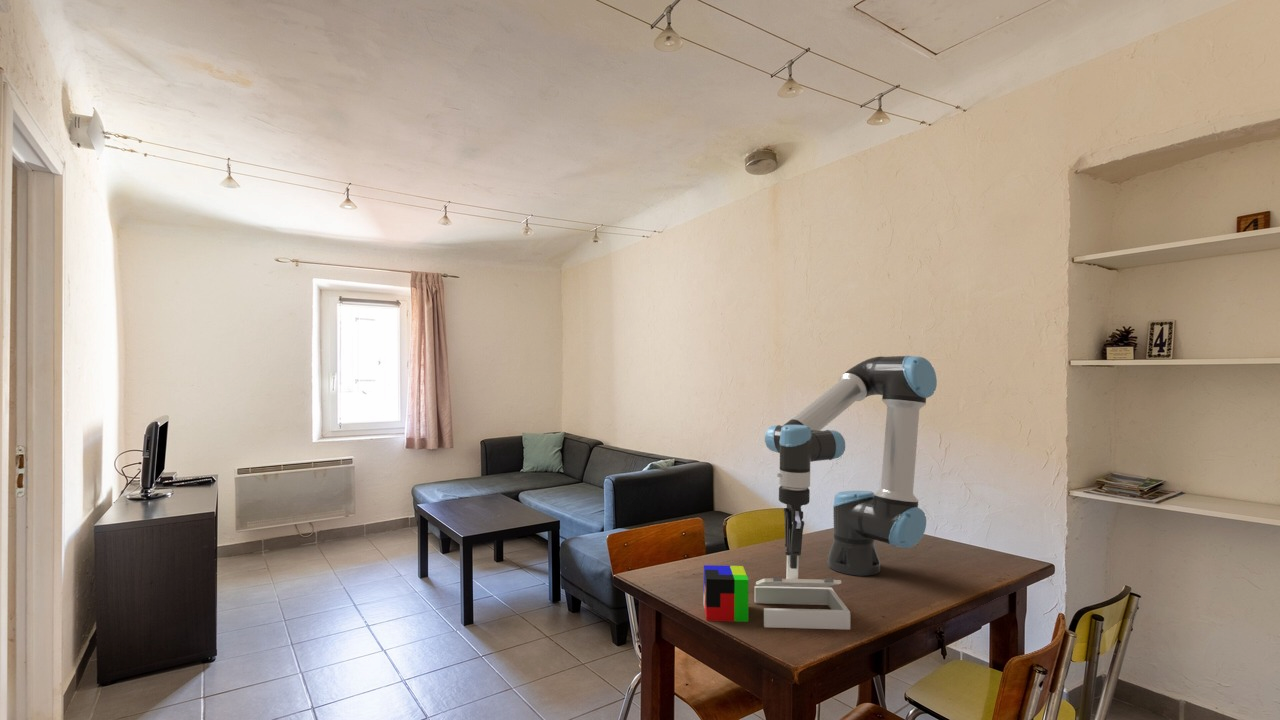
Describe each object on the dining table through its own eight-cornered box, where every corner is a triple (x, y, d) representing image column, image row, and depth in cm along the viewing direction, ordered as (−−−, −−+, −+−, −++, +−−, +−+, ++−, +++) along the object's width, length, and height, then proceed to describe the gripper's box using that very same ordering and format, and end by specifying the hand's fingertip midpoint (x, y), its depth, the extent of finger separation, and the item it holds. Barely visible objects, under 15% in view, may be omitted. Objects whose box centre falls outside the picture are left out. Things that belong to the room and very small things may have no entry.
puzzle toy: (703, 604, 153) (703, 565, 153) (742, 605, 152) (742, 566, 152) (706, 620, 143) (706, 579, 143) (748, 621, 142) (748, 579, 142)
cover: (826, 586, 153) (826, 582, 154) (842, 583, 140) (841, 578, 140) (756, 584, 154) (755, 580, 154) (765, 581, 140) (764, 577, 141)
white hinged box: (831, 603, 154) (831, 587, 154) (850, 629, 138) (850, 612, 138) (754, 601, 154) (754, 585, 155) (764, 627, 139) (764, 610, 139)
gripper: (774, 480, 156) (772, 569, 157) (784, 492, 144) (781, 589, 144) (803, 481, 156) (801, 570, 156) (815, 493, 143) (813, 590, 144)
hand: (792, 579), depth 150 cm, fingers closed
